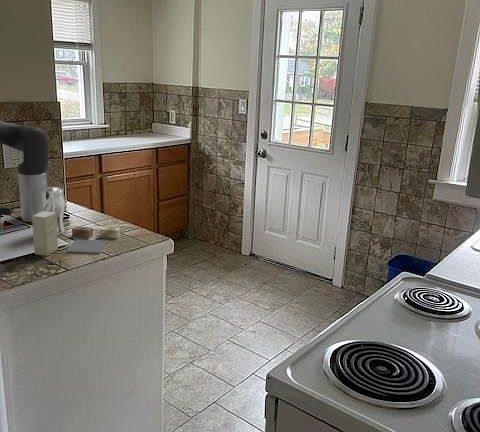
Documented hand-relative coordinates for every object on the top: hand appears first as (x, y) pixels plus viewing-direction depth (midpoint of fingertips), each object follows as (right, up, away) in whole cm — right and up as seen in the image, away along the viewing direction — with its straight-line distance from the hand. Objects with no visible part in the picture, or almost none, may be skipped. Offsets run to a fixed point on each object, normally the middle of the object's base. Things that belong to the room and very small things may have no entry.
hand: (5, 215), depth 143 cm
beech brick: (+26, -7, +20) cm, 34 cm away
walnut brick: (+17, -7, +19) cm, 26 cm away
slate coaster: (+21, -10, +10) cm, 25 cm away
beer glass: (+7, -6, +21) cm, 23 cm away
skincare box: (+11, -11, +4) cm, 16 cm away
